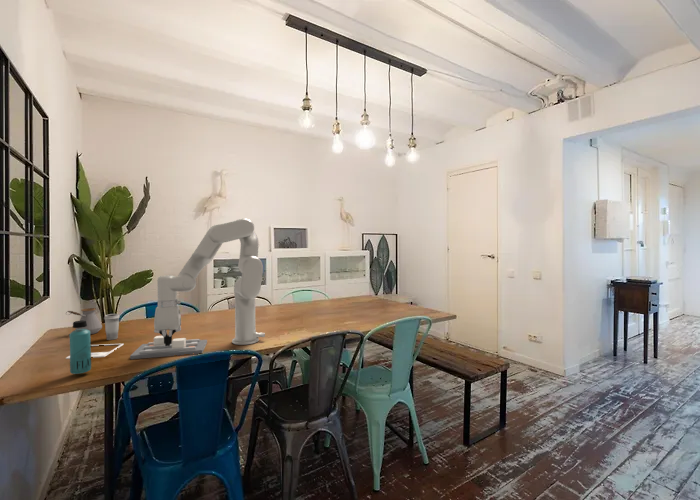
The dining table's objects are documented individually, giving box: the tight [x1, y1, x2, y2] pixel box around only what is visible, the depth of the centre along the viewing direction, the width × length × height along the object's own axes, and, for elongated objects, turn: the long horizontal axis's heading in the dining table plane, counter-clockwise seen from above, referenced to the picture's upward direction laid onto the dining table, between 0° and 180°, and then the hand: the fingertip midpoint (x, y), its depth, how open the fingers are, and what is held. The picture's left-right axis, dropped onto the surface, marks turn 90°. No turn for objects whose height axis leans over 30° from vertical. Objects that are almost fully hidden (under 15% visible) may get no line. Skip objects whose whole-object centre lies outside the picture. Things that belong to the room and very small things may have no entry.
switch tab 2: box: [172, 337, 187, 348], centre depth 155 cm, size 5×4×4 cm
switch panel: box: [129, 338, 208, 360], centre depth 158 cm, size 28×17×2 cm, turn 106°
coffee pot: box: [65, 307, 103, 335], centre depth 182 cm, size 21×12×15 cm, turn 5°
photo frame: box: [65, 343, 124, 360], centre depth 157 cm, size 15×1×18 cm
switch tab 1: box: [153, 335, 165, 346], centre depth 160 cm, size 5×4×4 cm
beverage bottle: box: [68, 320, 92, 375], centre depth 129 cm, size 6×7×20 cm
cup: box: [103, 313, 120, 341], centre depth 176 cm, size 7×7×12 cm
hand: (168, 344), depth 154 cm, fingers closed
